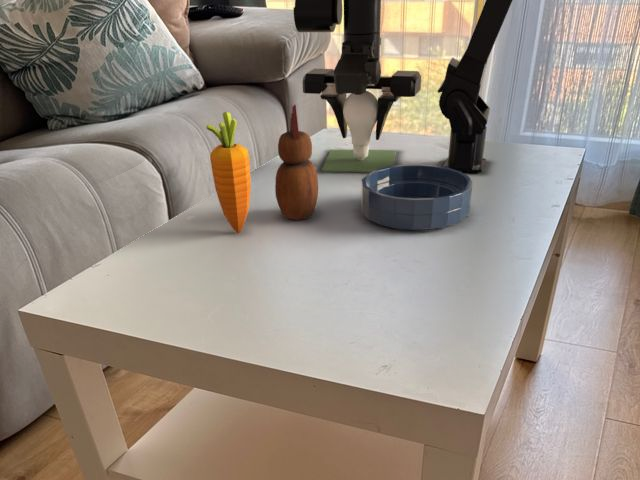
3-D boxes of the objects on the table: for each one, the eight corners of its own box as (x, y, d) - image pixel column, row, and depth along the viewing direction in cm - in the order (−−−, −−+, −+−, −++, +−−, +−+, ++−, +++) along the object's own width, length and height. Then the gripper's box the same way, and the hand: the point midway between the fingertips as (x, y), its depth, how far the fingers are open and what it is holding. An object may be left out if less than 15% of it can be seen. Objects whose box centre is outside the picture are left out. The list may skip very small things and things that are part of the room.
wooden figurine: (313, 225, 89) (308, 108, 79) (273, 223, 90) (264, 107, 80) (322, 208, 94) (319, 96, 84) (284, 206, 95) (278, 95, 85)
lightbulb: (384, 157, 111) (386, 88, 105) (367, 167, 107) (368, 95, 101) (354, 153, 114) (354, 85, 107) (336, 162, 110) (335, 92, 103)
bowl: (375, 191, 99) (376, 161, 96) (474, 199, 95) (478, 168, 92) (349, 227, 88) (349, 194, 85) (459, 237, 84) (463, 203, 81)
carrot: (241, 242, 85) (228, 121, 75) (212, 235, 87) (196, 116, 77) (263, 229, 88) (253, 111, 78) (235, 223, 90) (221, 108, 81)
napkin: (330, 151, 116) (330, 149, 116) (396, 152, 115) (396, 150, 115) (321, 171, 107) (321, 170, 107) (392, 172, 106) (392, 171, 105)
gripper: (288, 39, 95) (294, 148, 105) (410, 41, 91) (404, 155, 100) (311, 29, 104) (315, 131, 113) (425, 30, 99) (418, 136, 108)
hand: (361, 138), depth 109 cm, fingers closed on lightbulb, 5 cm apart
